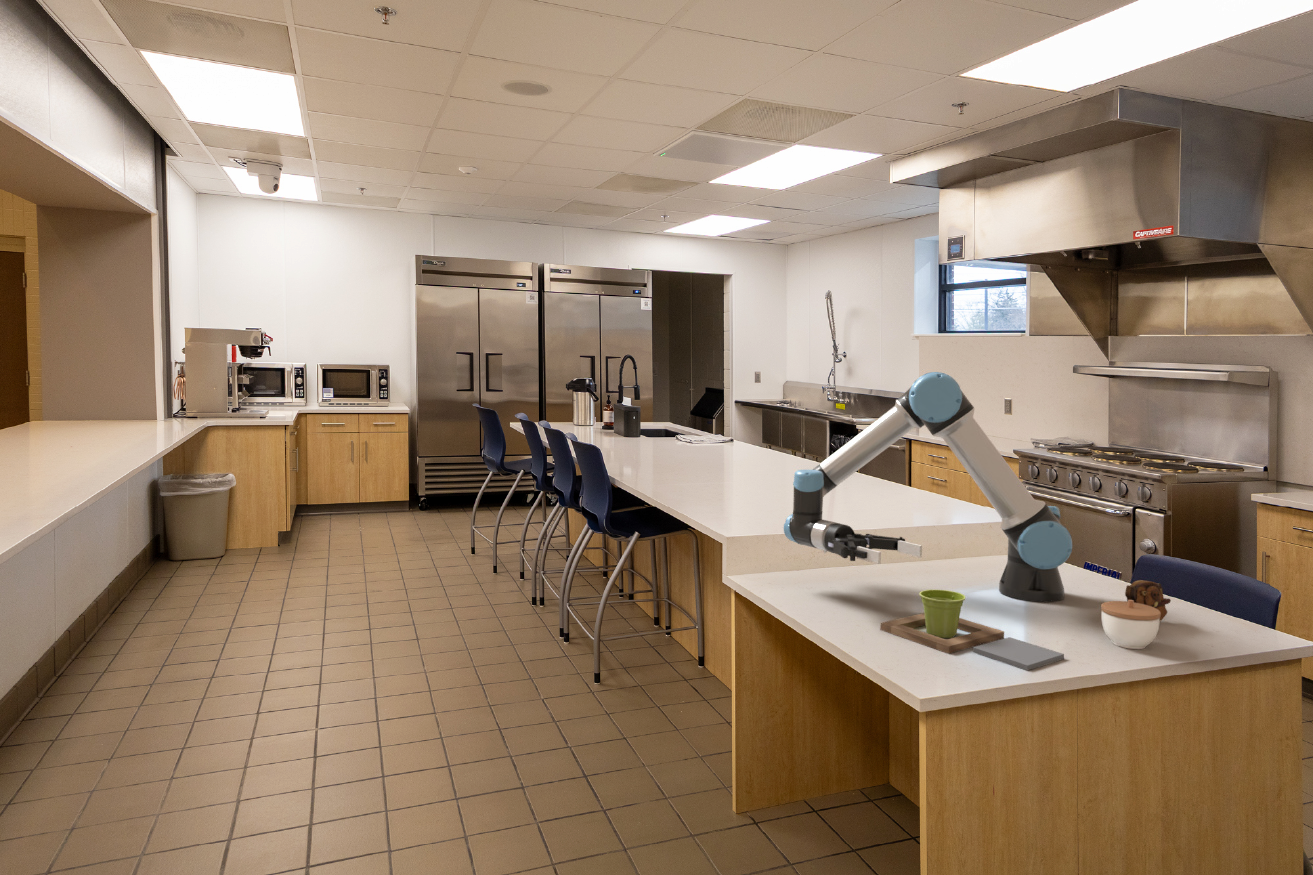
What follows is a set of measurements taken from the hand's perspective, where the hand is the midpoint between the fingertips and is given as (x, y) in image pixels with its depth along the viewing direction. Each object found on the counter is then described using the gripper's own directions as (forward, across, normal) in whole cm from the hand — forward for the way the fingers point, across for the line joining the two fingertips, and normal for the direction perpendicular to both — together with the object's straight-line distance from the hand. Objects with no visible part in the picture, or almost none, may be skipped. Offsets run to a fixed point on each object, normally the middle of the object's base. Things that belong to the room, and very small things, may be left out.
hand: (900, 554), depth 184 cm
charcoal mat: (+28, -2, -15) cm, 32 cm away
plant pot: (+12, 0, -15) cm, 19 cm away
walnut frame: (+12, 0, -15) cm, 19 cm away
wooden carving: (+31, -44, -15) cm, 57 cm away
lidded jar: (+36, -28, -15) cm, 49 cm away
